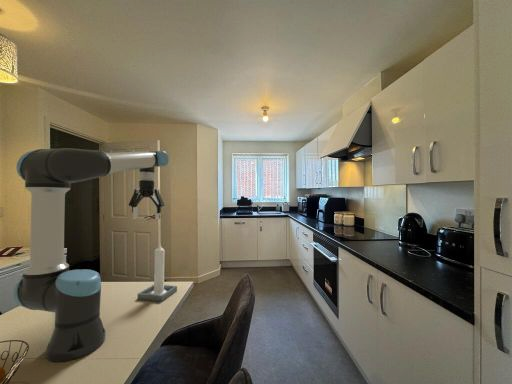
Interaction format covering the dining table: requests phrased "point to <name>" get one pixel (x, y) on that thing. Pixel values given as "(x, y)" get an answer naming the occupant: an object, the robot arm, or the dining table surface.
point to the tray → (148, 296)
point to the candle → (159, 272)
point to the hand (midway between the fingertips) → (146, 219)
